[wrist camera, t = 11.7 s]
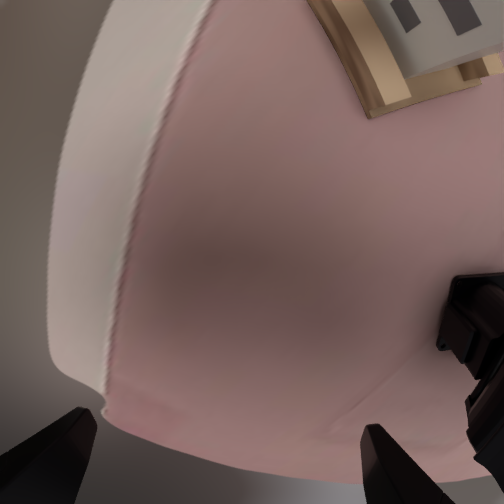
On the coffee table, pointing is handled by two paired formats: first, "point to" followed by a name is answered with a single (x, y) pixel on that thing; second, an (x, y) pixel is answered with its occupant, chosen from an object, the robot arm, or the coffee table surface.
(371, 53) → the slot holder
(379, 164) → the coffee table surface
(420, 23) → the white rectangular box
